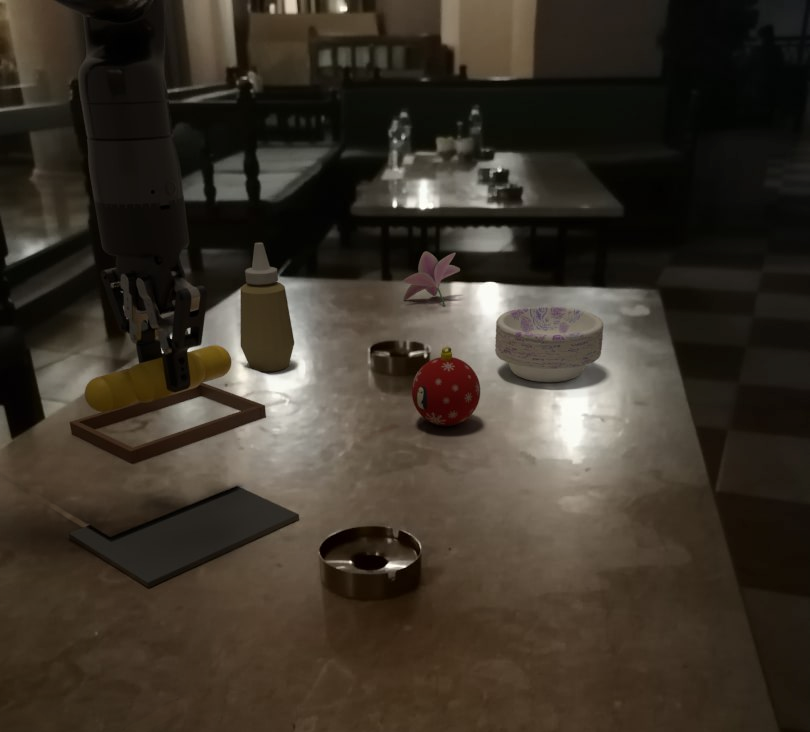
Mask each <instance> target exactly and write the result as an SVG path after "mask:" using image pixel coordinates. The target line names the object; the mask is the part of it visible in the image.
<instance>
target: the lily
mask: <svg viewBox="0 0 810 732" xmlns="http://www.w3.org/2000/svg"><path fill="white" fill-rule="evenodd" d="M455 256H456V252H452V253H450V254H447V256H444V257H443V258H442V259H440V260H438V259H437V257H436V256H434V254H432V253H431V252H430V251H427V250H426V251H425V250H424V252H422V255H421V257H420V259H419V261H418V267H417V269H418V270H417V271H418V272H416V273H413V274H411V275H408V276H407V277H406V278H405V277H404V279H403V280H402V283H405V284H409V287H408V288H407V290H406V291H405V294H404V295H403V301H406V300H408V299H409V298H411V297H413V296H414V295H416V294H417V293H420V292H422V291H423V290H425V291H426V292H427V293H428V294H429V295H431V296H433V297H436V296H437V294H439V297H440V300H441V303H442V305H443V307H446V304H445V301H444V298H443V295H442V293H441V290H440V285H441V281H442V280H444V279H446V278H448V277H450V276H452V275H454V274H457V273H459V272H460V271H461V268H460V267H458V266H456V265H453V264H451V262H452V260H453V259H454V257H455Z"/></svg>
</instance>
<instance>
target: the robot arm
mask: <svg viewBox="0 0 810 732" xmlns="http://www.w3.org/2000/svg"><path fill="white" fill-rule="evenodd" d="M53 1H54V2H56V3H57V4H59V5H61V6H63V7H64V8H67V9H69V10H70V11H73V12H74V13H77V14H79V15H82V19H83V27H84V28H83V29H84V38H85V39H84V40H85V48H86V49H85V50H86V55H85V58H84V60H83V62H82V64H81V65H80V67H79V70H78V76H77V77H78V91H79V92H78V93H79V98H80V102H81V103H80V104H81V109H82V117H83V121H84V128H85V133H86V138H87V139H86V141H87V151H88V153H87V159H88V172H89V177H90V184H91V191H92V196H93V203H94V207H95V213H96V220H97V225H98V231H99V237H100V244H101V248H102V250H103V251H104V252H105V253H106V254H107V255H110V256H114V257H116V261H115V267H113V268H112V267H111V268H107V269H102V270H101V271H100V278H101V280H102V281H101V282H102V284H103V287H104V290H105V293H106V295H107V298H108V301H109V305H110V306H111V310H112V312H113V315H114V318H115V322H116V323H117V327H118V329H119V331H120V333H121V334H128V335H129V338H130V341H131V342H132V343H133V344H134V345H135V346H136V353H137V359H138V364H140V363H143V362H147V361H150V360H154V359H158V358H161V357H162V359H163V366H164V373H165V380H166V385H167V389H168V390H169V391H171V392H174V393H175V392H179V391H182V390H185V389H188V388H189V387H190V384H191V383H190V380H191V379H190V374H189V373H190V371H189V364H188V356H187V352H189V349H191V348H196V347H200V346H201V345H202V343H203V335H204V326H205V320H206V319H205V318H206V310H207V300H208V291H207V288H206V287H205V286H204V285H197V286H193V285H192V284H191V283H190V282H189V281H187V278H186V273H185V270H184V267H183V265H182V262H181V257H180V256H181V254H182V252H183V251H185V250H186V249H187V248H188V247H189V245H190V237H189V236H190V235H189V228H188V219H187V211H186V205H185V204H186V203H185V202H186V201H185V196H184V188H183V187H184V186H183V180H182V170H181V164H180V159H179V155H178V151H177V147H176V142H175V138H174V135H173V134H174V130H173V121H172V114H171V106H170V101H169V100H170V97H169V92H168V91H169V90H168V87H167V82H166V77H165V76H166V74H165V73H166V71H165V63H166V0H53ZM169 313H173V314H172V315H170V316H165V317H162V316H163V315H165V314H169ZM171 326H172V332H171V334H170V332H169V327H171ZM188 329H189V330H188Z"/></svg>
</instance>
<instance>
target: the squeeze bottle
mask: <svg viewBox="0 0 810 732" xmlns="http://www.w3.org/2000/svg"><path fill="white" fill-rule="evenodd" d="M251 265H252V266H251V267H248V268H246V269H245V270H244V275H245V281H246V282H245V283H244V284H243V285H242V286H241V287H240V348H241V350H242V353H243V355H244V357H245V360H246V361H247V364H248V366H249V368H250V369H251V370H253V371H257V372H276V371H282V370H284V369H286V368H288V367H289V366H290V363H291V358H292V355H293V352H294V351H293V350H294V346H295V338H294V332H293V326H292V320H291V315H290V309H289V303H288V297H287V291H286V287H285V285H284V284H283V283H282V282H279V274H278V268H277V267H274V266H270V263H269V260H268V256H267V253H266V248H265V245H264V243H263V242H255V243H254V247H253V256H252V263H251Z"/></svg>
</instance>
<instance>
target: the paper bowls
mask: <svg viewBox="0 0 810 732" xmlns="http://www.w3.org/2000/svg"><path fill="white" fill-rule="evenodd" d="M603 337H604V321H603V320H602V319H601V318H600V317H599V316H597V315H596V314H594V313H591V312H589V311H586V310H582V309H577V308H571V307H562V306H530V307H520V308H516V309H511V310H509V311H506V312H504V313H502V314H501V315H500V316H498V318H497V319H496V322H495V345H494V346H495V348H494V349H495V350H494V351H495V355H496V357H497V358H498V359H499V360H500V361H504V362H505V363H507V364H508V367H509V369H510V370H511V372H512V373H513V374H515V376H517V377H519V378H522V379H524V380H526V381H531V382H538V383H561V382H565V381H570V380H572V379H575V378H577V377H579V376H580V375H581V374H582V373H583V371H584V370H585V368H586V367H587V365H590V364H592V363H595V362H596V361H597V360H599V359H600V358H601V355H602V347H603V340H604V338H603Z"/></svg>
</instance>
